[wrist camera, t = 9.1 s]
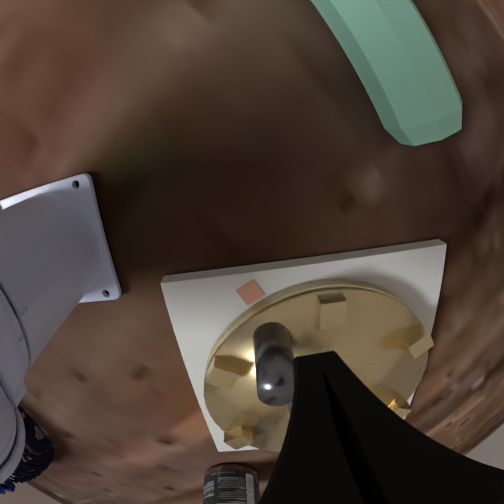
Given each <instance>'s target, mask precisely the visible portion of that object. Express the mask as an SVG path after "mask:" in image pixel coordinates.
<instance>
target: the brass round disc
mask: <svg viewBox="0 0 504 504" xmlns="http://www.w3.org/2000/svg"><path fill="white" fill-rule="evenodd" d="M432 346H434V343H433V340H432V338H431V335H430V332H429V331H428V330H427V329H426V327H425V326H424V325H423V324H422V323H421V321H420V320H419V319H418V318H417V316H416V315H415V314H414V313H413V311H412V310H411V309H410V308H409V307H408V306H407V304H406V303H405V302H404V301H403V300H402V299H401V298H399V297H398V296H397V295H396V294H394V293H393V292H391V291H389V290H387V289H385V288H384V287H381V286H378V285H375V284H372V283H368V282H363V281H358V280H345V279H335V280H322V281H316V282H311V283H305V284H302V285H298V286H295V287H291V288H288V289H285V290H283V291H281V292H278V293H276V294H273V295H271V296H269V297H267V298H265V299H263V300H262V301H260V302H258V303H256V304H254V305H253V306H251V307H250V308H249V309H247V310H246V311H244V312H243V313H242V314H240V315H239V316H238V317H237V318H236V319H235V320H234V321H233V322H231V323H230V324H229V325H228V326H227V328H226V329H225V330H224V331H223V332H222V334H221V335H220V336H219V337H218V339H217V341H216V342H215V344H214V346H213V347H212V350H211V352H210V355H209V357H208V360H207V365H206V370H205V378H204V400H205V405H206V408H207V410H208V412H209V414H210V416H211V418H212V419H213V420H214V422H215V423H216V424H217V425H218V426H219V427H220V428H221V429H222V430H223V431H224V443H225V444H227V445H229V446H230V447H232V448H233V449H235V450H237V449H240V448H242V447H245V446H248V445H249V446H252V447H255V448H258V449H263V450H268V451H274V452H280V451H281V448H282V445H283V442H284V438H285V435H286V431H287V427H288V422H289V418H290V414H291V408H292V401H293V394H294V377H293V359H294V358H295V357H297V356H304V355H310V354H316V353H322V352H327V351H333V350H334V351H335V352H337V354H338V355H339V356H340V357H341V359H342V360H343V361H344V362H345V363H346V365H347V366H348V367H349V368H350V369H351V370H352V371H353V372H354V374H355V375H356V376H357V377H358V378H359V379H360V380H361V381H362V382H363V383H364V384H365V385H366V386H367V387H368V388H369V389H370V390H371V391H372V392H373V393H374V394H375V395H376V396H377V397H378V398H379V399H380V400H381V401H382V402H383V403H384V404H386V405H387V406H388V407H389V408H390V409H391V410H393V411H394V412H395V413H396V414H397V415H399V416H400V417H401V418H402V419H403V418H404V417H405V416H406V415H407V414H408V413H409V412H410V411H411V410H412V409H411V407H410V406H409V404H408V402H407V400H408V399H409V398H410V397H411V395H412V394H413V392H414V391H415V390H416V388H417V386H418V384H419V383H420V381H421V379H422V376H423V374H424V371H425V368H426V364H427V360H428V350H429V349H430V348H431V347H432Z"/></svg>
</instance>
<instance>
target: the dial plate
mask: <svg viewBox="0 0 504 504" xmlns="http://www.w3.org/2000/svg"><path fill="white" fill-rule="evenodd" d="M446 246H447V244H446V243H444V242H443V241H441V240H440V239H435V240H428V241H421V242H414V243H408V244H401V245H394V246H387V247H380V248H373V249H365V250H358V251H351V252H344V253H337V254H329V255H322V256H314V257H307V258H300V259H292V260H284V261H277V262H269V263H261V264H254V265H246V266H238V267H230V268H222V269H214V270H206V271H198V272H190V273H182V274H173V275H165V276H163V279H162V281H161V283H160V284H161V288H162V291H163V295H164V298H165V302H166V305H167V309H168V312H169V316H170V319H171V322H172V326H173V329H174V332H175V335H176V338H177V341H178V345H179V348H180V351H181V354H182V357H183V360H184V363H185V366H186V368H187V371H188V374H189V377H190V380H191V383H192V385H193V388H194V391H195V394H196V396H197V399H198V402H199V404H200V407H201V410H202V412H203V415H204V417H205V420H206V422H207V425H208V427H209V430H210V432H211V435H212V437H213V440H214V442H215V444H216V447H217V449H218V451H219V452H221V451H238V450H251V449H258V448H255V447H252V446H249V445H248V446H245V447H242V448H240V449H237V450H235V449H233V448H232V447H230V446H229V445H227V444H225V443H224V431H223V430H222V429H221V428H220V427H219V426H218V425H217V424H216V423H215V422H214V420H213V419H212V418H211V416H210V414H209V412H208V410H207V408H206V405H205V400H204V378H205V370H206V365H207V360H208V357H209V355H210V352H211V350H212V347H213V346H214V344H215V342H216V341H217V339H218V337H219V336H220V335H221V334H222V332H223V331H224V330H225V329H226V328H227V326H228V325H229V324H230V323H231V322H233V321H234V320H235V319H236V318H237V317H238V316H239V315H240V314H242V313H243V312H244V311H246V310H247V309H249V308H250V307H251V306H253V305H254V304H256V303H258V302H260V301H262V300H263V299H265V298H267V297H269V296H271V295H273V294H276V293H278V292H281V291H283V290H285V289H288V288H291V287H295V286H298V285H302V284H305V283H311V282H316V281H322V280H335V279H345V280H358V281H363V282H368V283H372V284H375V285H378V286H381V287H384V288H385V289H387V290H389V291H391V292H393V293H394V294H396V295H397V296H398V297H399V298H401V299H402V300H403V301H404V302H405V303H406V304H407V306H408V307H409V308H410V309H411V310H412V311H413V313H414V314H415V315H416V316H417V318H418V319H419V320H420V321H421V323H422V324H423V325H424V326H425V327H426V329H427V330H428V331H429V332H430V335H431V332H432V328H433V324H434V319H435V314H436V310H437V305H438V299H439V294H440V288H441V282H442V276H443V269H444V262H445V255H446ZM414 392H415V391H414ZM414 392H413V394H412V395H411V397H410V398H409V399H408V400H407V402H408V404H409V406H410V404H411V401H412V398H413V395H414ZM405 417H406V416H405ZM405 417H404V418H403V419H405Z"/></svg>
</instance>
